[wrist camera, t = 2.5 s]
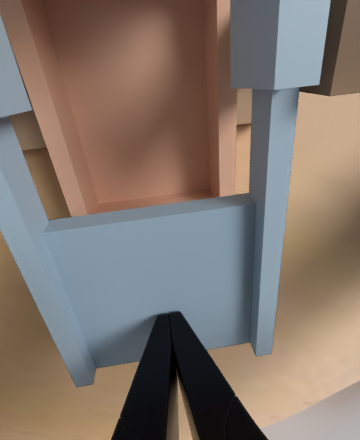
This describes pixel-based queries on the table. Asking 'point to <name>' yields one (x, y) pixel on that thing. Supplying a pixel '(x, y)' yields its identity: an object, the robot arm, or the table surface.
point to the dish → (130, 97)
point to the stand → (329, 86)
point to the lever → (171, 217)
